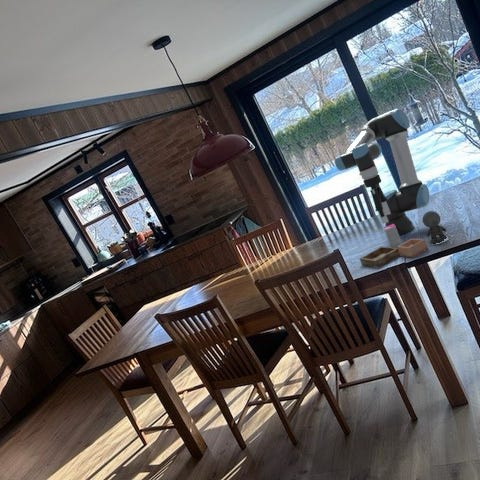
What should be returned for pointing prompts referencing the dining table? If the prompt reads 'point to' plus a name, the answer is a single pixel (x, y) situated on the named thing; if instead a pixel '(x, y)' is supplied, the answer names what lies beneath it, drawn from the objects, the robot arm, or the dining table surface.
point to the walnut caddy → (380, 256)
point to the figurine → (434, 227)
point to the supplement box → (392, 236)
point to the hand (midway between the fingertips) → (386, 218)
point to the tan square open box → (412, 248)
